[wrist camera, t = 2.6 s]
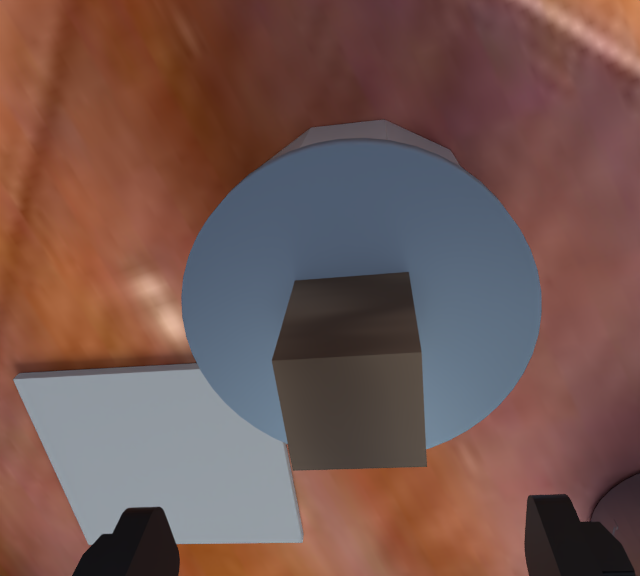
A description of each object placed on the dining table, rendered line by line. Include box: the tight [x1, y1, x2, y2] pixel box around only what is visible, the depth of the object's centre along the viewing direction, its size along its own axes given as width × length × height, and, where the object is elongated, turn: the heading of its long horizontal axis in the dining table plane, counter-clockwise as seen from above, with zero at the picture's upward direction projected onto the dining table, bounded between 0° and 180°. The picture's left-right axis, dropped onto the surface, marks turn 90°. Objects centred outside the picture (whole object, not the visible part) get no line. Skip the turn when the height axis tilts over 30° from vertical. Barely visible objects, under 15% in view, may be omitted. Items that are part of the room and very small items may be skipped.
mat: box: [13, 363, 304, 545], centre depth 33 cm, size 15×14×1 cm
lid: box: [182, 138, 541, 471], centre depth 18 cm, size 13×13×6 cm
